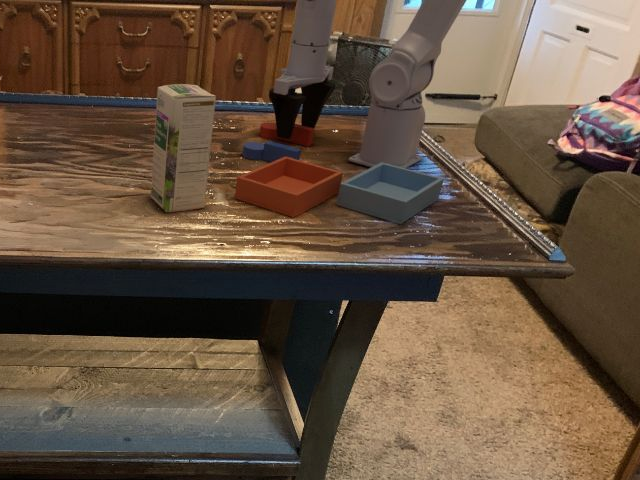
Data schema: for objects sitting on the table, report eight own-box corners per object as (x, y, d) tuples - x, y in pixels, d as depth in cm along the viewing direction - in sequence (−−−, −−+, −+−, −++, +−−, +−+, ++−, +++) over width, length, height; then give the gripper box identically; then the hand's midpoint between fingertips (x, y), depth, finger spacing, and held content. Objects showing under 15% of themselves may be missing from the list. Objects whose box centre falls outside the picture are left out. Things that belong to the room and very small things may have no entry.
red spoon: (255, 135, 126) (257, 119, 125) (267, 130, 129) (269, 114, 127) (303, 148, 121) (306, 131, 120) (315, 143, 124) (318, 126, 122)
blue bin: (376, 182, 109) (381, 161, 108) (438, 199, 105) (444, 178, 103) (336, 204, 102) (340, 183, 100) (400, 224, 97) (406, 202, 95)
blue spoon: (237, 155, 117) (239, 138, 116) (251, 150, 120) (253, 133, 118) (289, 170, 112) (292, 153, 111) (302, 164, 115) (305, 147, 113)
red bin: (282, 176, 110) (285, 156, 108) (339, 193, 105) (343, 172, 104) (234, 198, 103) (237, 177, 101) (293, 217, 98) (297, 195, 96)
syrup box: (149, 197, 102) (154, 85, 93) (188, 193, 104) (197, 82, 95) (165, 213, 97) (172, 96, 89) (207, 208, 99) (217, 93, 91)
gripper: (311, 32, 122) (297, 118, 130) (262, 44, 113) (250, 136, 121) (350, 39, 118) (334, 127, 126) (303, 52, 109) (288, 146, 117)
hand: (296, 132), depth 123 cm, fingers open, 7 cm apart
